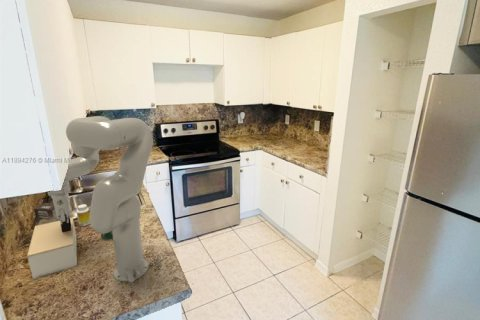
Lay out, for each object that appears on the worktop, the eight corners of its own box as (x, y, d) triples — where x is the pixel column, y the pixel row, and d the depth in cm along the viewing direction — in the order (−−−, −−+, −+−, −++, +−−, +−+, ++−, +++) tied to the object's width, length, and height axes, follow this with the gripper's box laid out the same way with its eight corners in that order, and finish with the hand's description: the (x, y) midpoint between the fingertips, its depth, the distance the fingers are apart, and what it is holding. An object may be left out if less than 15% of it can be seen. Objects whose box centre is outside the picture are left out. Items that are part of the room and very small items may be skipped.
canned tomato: (114, 240, 120) (111, 219, 117) (98, 240, 120) (94, 219, 117) (122, 231, 128) (119, 211, 125) (106, 231, 128) (103, 211, 125)
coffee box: (39, 239, 120) (32, 208, 116) (50, 232, 126) (44, 202, 122) (57, 241, 119) (51, 209, 115) (68, 233, 125) (62, 203, 121)
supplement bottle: (92, 223, 134) (89, 205, 132) (80, 227, 131) (77, 209, 128) (89, 220, 138) (86, 202, 135) (77, 223, 134) (74, 206, 131)
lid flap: (73, 245, 100) (70, 232, 99) (27, 257, 93) (24, 243, 92) (73, 219, 120) (70, 208, 118) (35, 227, 113) (32, 215, 111)
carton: (77, 266, 103) (73, 245, 100) (33, 279, 96) (27, 257, 93) (76, 237, 123) (73, 219, 120) (39, 246, 115) (35, 227, 113)
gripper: (69, 194, 99) (77, 236, 104) (70, 180, 112) (77, 218, 117) (45, 198, 95) (55, 241, 100) (48, 184, 108) (57, 223, 113)
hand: (66, 228), depth 109 cm, fingers closed on lid flap, 3 cm apart
